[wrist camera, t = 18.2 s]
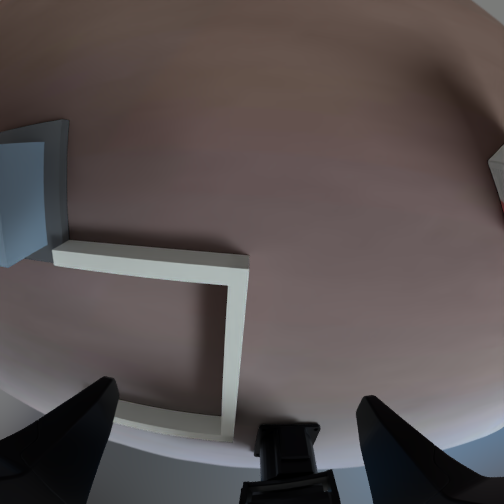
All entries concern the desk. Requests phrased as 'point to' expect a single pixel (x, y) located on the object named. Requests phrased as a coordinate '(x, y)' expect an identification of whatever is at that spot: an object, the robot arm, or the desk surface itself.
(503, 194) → the ink cartridge box
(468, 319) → the desk surface
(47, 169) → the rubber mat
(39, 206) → the blank block
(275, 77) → the desk surface
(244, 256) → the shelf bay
